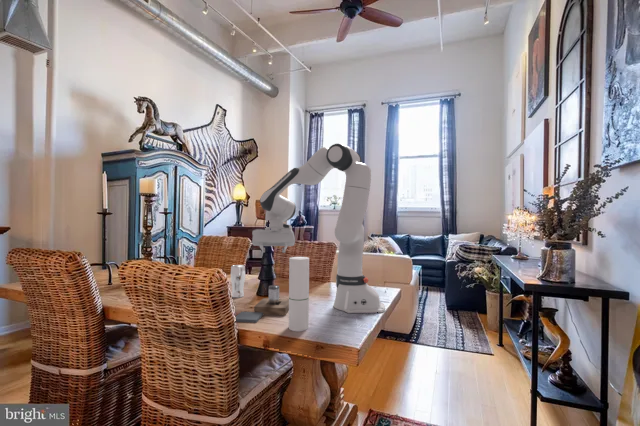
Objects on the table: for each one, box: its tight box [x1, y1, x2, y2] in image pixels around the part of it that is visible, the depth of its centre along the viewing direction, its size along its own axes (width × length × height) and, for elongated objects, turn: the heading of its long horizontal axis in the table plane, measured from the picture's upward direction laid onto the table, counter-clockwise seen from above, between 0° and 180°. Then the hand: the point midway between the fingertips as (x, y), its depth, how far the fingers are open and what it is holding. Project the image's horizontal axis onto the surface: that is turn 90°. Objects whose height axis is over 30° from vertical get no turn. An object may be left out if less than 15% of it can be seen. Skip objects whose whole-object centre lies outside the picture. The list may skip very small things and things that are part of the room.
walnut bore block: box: [253, 297, 289, 316], centre depth 132 cm, size 13×13×3 cm
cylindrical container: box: [288, 256, 310, 332], centre depth 112 cm, size 7×7×25 cm
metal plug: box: [268, 284, 280, 305], centre depth 132 cm, size 4×4×10 cm
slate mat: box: [235, 311, 264, 324], centre depth 121 cm, size 9×9×1 cm
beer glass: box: [230, 264, 246, 299], centre depth 153 cm, size 7×7×15 cm
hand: (273, 251), depth 145 cm, fingers open, 8 cm apart
